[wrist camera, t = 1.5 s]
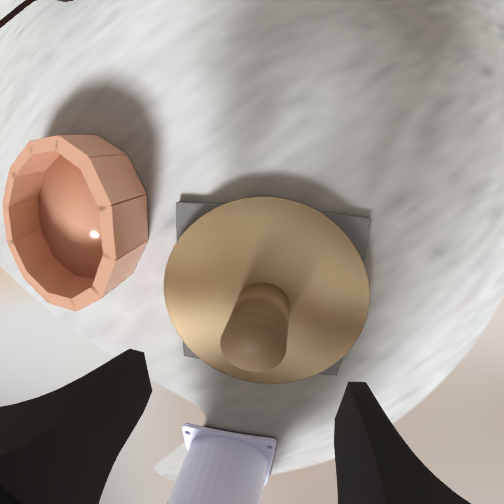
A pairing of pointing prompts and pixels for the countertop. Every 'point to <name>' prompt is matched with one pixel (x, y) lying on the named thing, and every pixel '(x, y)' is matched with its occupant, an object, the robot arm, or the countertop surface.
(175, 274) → the lid
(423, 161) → the countertop surface
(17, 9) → the coffee mug
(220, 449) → the robot arm
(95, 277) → the bowl
